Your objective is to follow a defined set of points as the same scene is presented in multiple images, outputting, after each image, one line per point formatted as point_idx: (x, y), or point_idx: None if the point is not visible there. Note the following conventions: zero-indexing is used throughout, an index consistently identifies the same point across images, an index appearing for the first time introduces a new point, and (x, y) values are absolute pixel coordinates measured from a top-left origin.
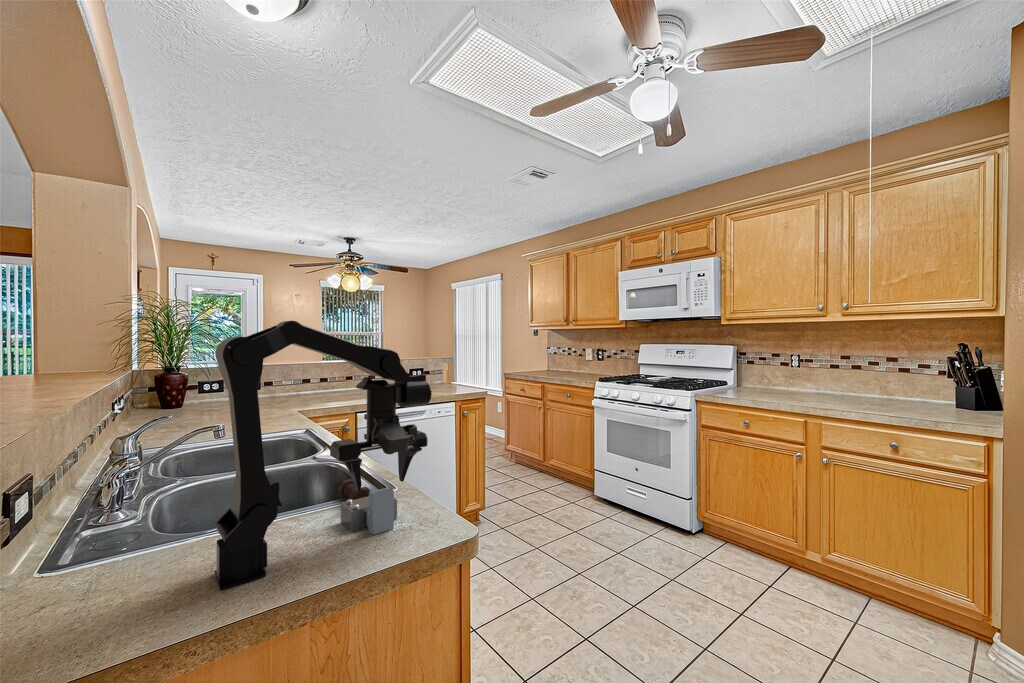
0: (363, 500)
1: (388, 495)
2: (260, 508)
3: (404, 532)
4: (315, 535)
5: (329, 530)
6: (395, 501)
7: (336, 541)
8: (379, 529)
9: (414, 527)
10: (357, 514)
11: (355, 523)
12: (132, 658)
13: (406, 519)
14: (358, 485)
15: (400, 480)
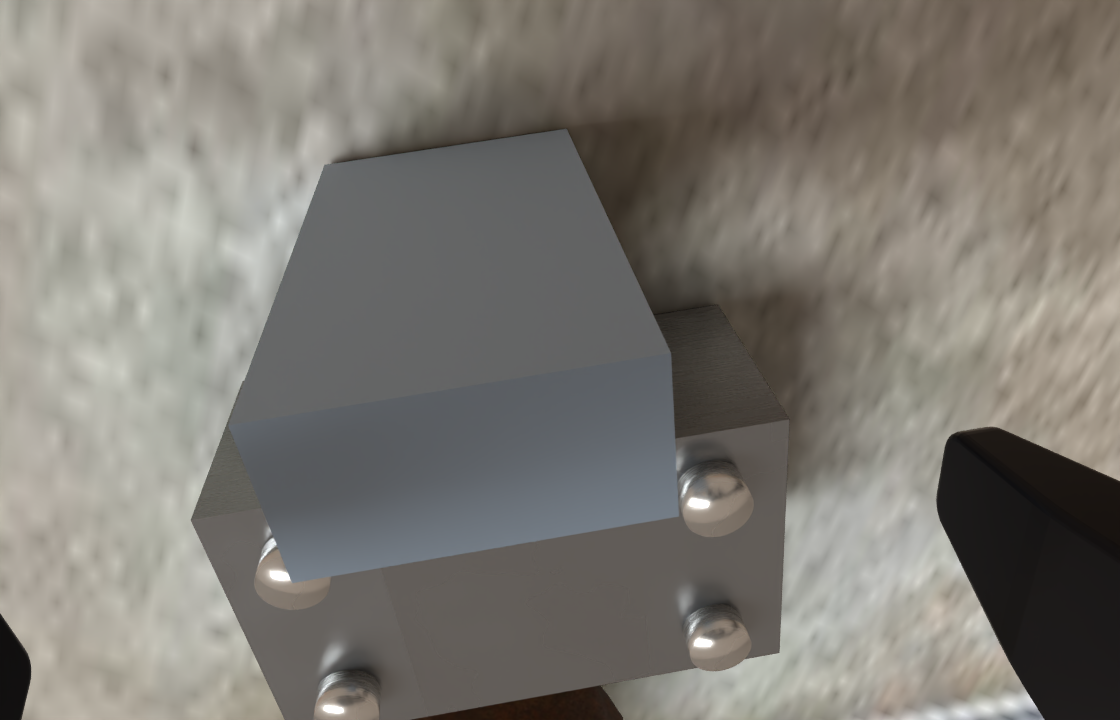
0: (568, 633)
1: (354, 362)
2: None
3: (218, 5)
4: (965, 385)
5: (845, 422)
6: (217, 503)
7: (894, 186)
8: (496, 152)
9: (71, 77)
10: (703, 399)
11: (698, 348)
12: None
13: (142, 327)
14: (1106, 492)
15: (10, 647)
